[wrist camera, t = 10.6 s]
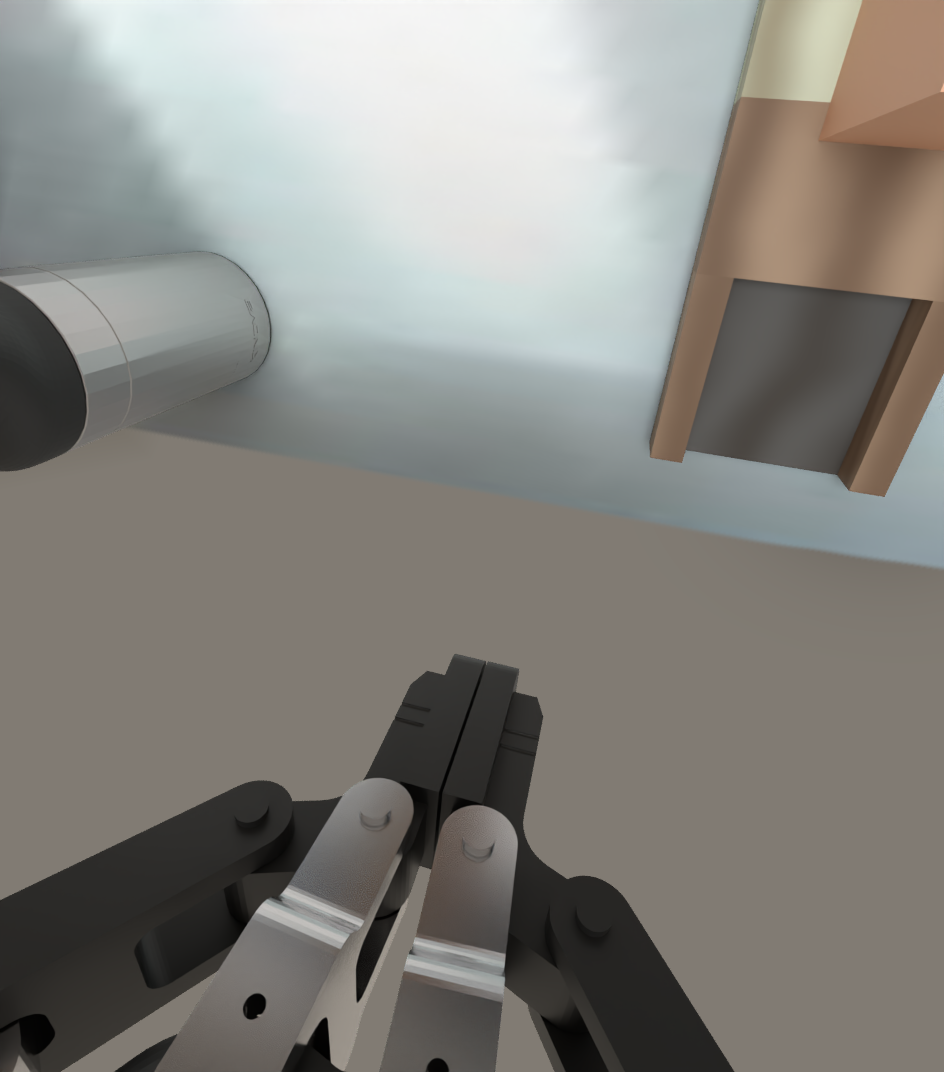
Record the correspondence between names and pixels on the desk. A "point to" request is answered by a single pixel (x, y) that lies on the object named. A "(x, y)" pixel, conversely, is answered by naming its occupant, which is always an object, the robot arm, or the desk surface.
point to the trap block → (891, 78)
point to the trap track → (808, 276)
